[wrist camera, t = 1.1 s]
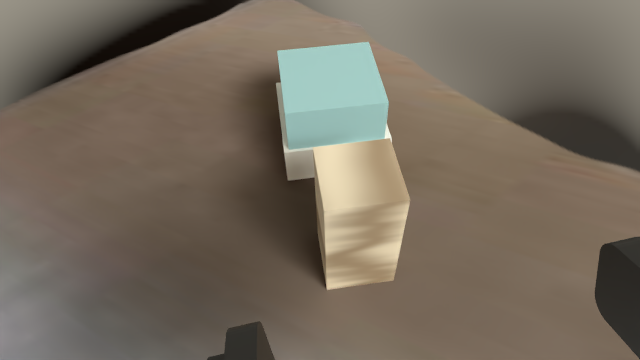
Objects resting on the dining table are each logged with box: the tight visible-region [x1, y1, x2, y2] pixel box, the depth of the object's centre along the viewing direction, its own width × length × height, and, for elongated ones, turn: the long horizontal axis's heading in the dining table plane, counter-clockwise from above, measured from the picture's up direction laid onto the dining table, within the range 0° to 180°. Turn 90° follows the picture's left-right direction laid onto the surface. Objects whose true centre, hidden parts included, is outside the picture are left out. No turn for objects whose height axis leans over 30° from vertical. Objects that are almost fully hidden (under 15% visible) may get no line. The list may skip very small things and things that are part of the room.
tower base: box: [276, 82, 392, 181], centre depth 42 cm, size 9×9×4 cm
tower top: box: [277, 42, 389, 150], centre depth 39 cm, size 8×8×4 cm
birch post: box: [313, 138, 410, 290], centre depth 32 cm, size 5×5×10 cm
